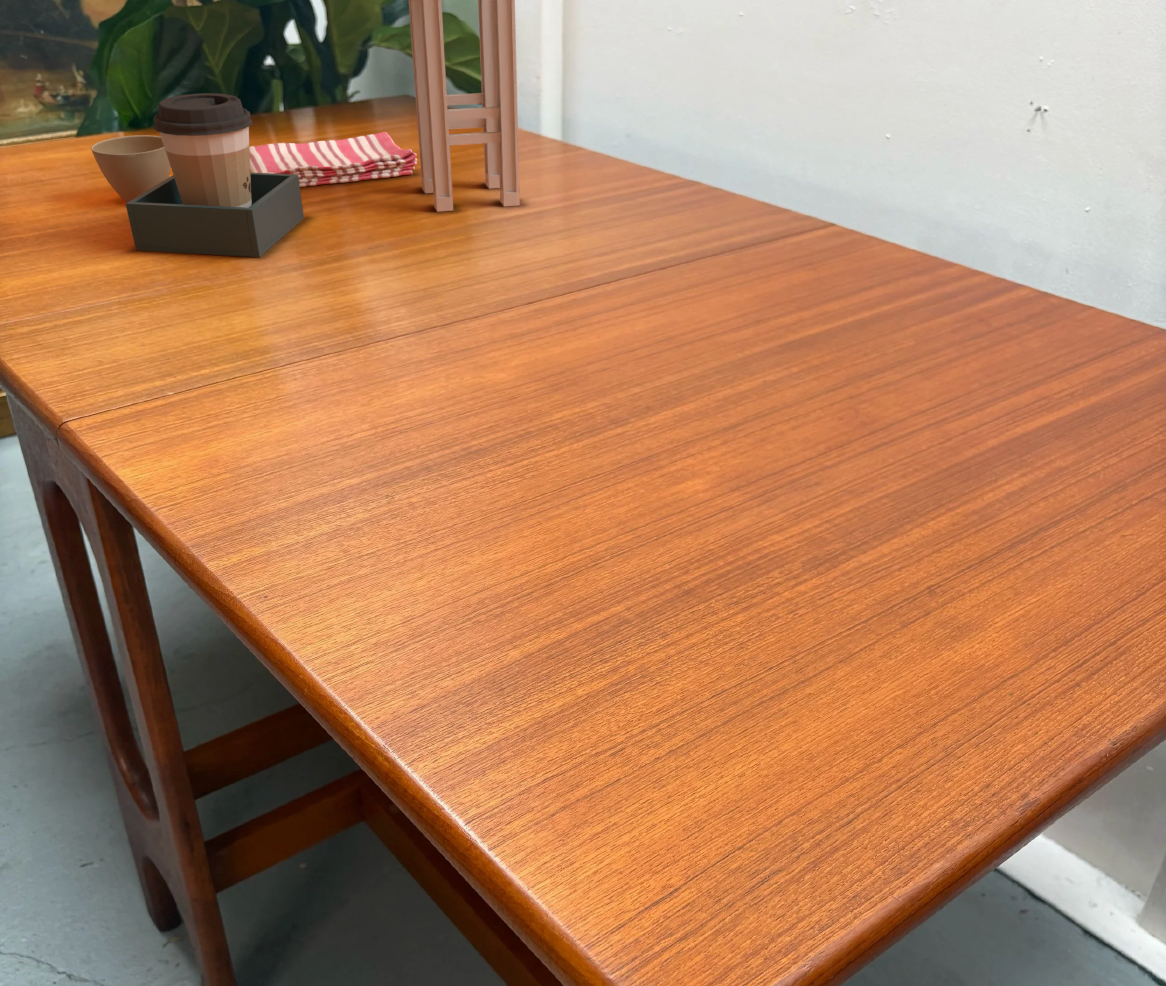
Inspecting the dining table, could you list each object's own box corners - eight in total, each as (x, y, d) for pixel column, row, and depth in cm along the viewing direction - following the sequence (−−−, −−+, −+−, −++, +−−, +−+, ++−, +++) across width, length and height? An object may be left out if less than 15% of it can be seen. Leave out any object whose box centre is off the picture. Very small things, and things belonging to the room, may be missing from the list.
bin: (135, 250, 133) (125, 203, 129) (190, 213, 145) (182, 169, 142) (259, 257, 131) (252, 209, 128) (304, 218, 144) (298, 174, 140)
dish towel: (421, 174, 162) (419, 149, 160) (262, 192, 153) (258, 166, 151) (386, 148, 174) (384, 125, 172) (238, 163, 166) (233, 139, 164)
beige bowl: (113, 189, 154) (101, 135, 150) (187, 187, 155) (176, 134, 151) (95, 210, 146) (82, 154, 142) (173, 208, 147) (161, 152, 143)
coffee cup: (274, 237, 135) (254, 107, 127) (178, 247, 132) (150, 114, 123) (263, 212, 144) (243, 88, 135) (172, 220, 141) (146, 94, 132)
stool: (538, 208, 148) (534, -96, 128) (424, 217, 144) (402, -95, 124) (510, 178, 160) (502, -104, 140) (405, 186, 157) (381, -103, 137)
